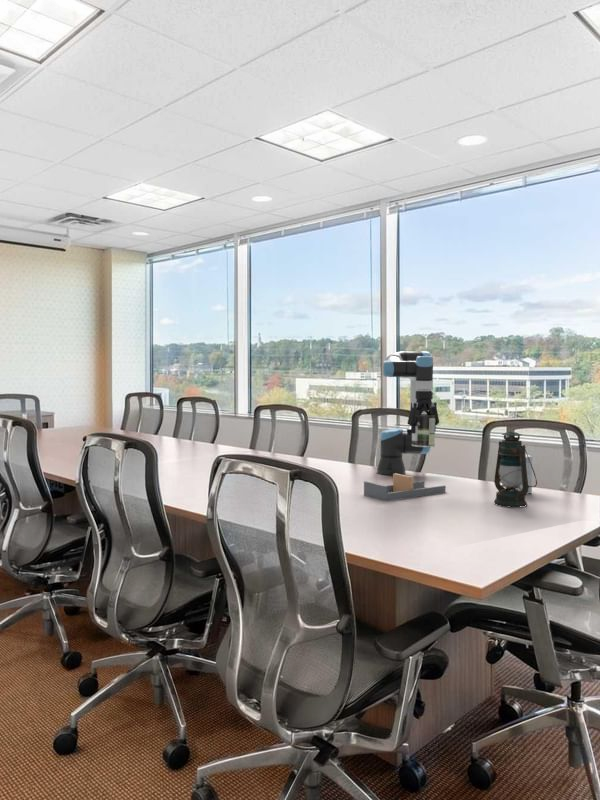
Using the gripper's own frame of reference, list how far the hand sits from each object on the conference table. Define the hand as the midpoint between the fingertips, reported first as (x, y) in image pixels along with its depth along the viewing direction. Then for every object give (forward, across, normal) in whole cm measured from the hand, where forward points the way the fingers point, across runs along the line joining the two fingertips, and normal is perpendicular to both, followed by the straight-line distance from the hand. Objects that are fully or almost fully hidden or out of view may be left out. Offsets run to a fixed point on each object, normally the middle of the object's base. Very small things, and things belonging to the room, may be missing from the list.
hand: (423, 439), depth 278 cm
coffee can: (+3, 0, 0) cm, 3 cm away
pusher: (+23, +12, 0) cm, 26 cm away
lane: (+23, +10, 0) cm, 25 cm away
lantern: (+24, -12, +39) cm, 47 cm away
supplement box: (+24, -36, +24) cm, 49 cm away
